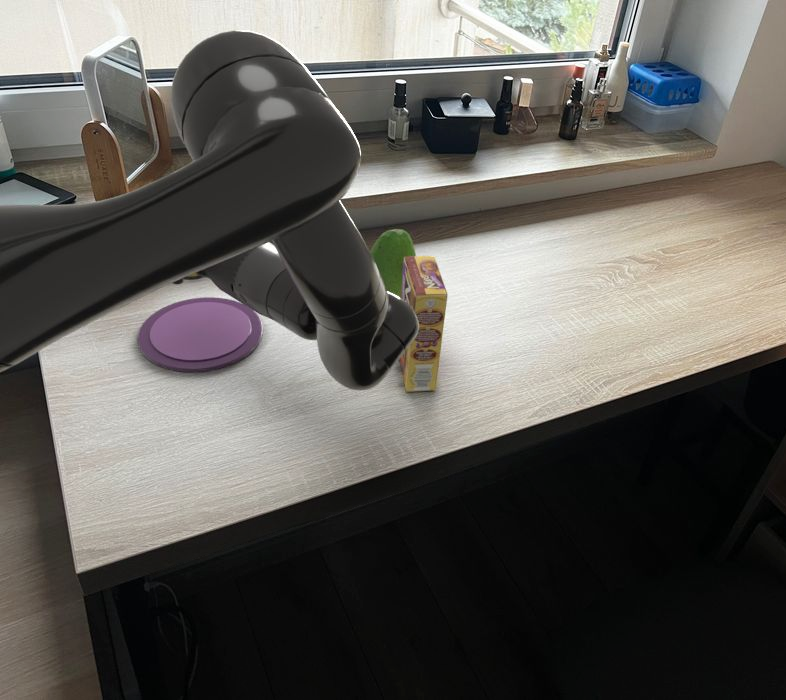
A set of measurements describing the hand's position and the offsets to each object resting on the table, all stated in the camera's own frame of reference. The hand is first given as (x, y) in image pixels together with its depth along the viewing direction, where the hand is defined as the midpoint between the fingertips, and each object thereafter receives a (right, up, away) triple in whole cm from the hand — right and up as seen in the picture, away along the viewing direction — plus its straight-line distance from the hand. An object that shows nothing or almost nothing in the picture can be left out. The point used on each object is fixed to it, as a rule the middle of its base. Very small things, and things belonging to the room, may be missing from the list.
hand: (172, 223), depth 89 cm
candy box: (+29, -18, +8) cm, 36 cm away
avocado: (+24, -8, +21) cm, 33 cm away
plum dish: (0, -13, +10) cm, 17 cm away
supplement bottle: (+2, -6, +3) cm, 7 cm away
